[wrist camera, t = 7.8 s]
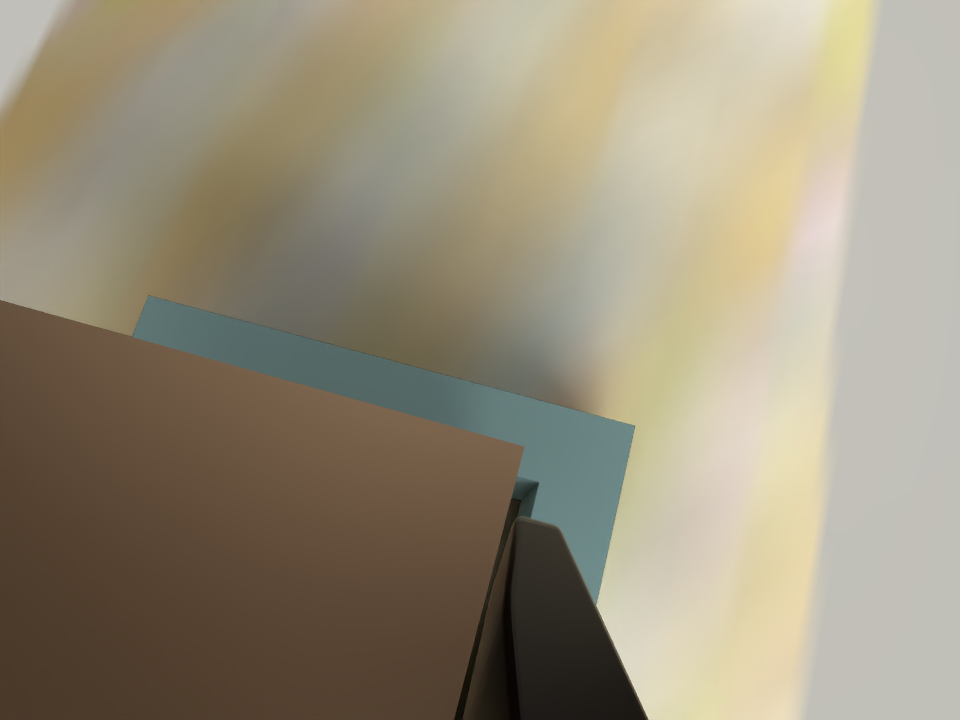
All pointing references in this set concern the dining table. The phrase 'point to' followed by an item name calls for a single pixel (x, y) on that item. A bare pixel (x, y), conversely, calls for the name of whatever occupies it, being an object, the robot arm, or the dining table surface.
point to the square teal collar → (438, 416)
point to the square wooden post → (229, 539)
